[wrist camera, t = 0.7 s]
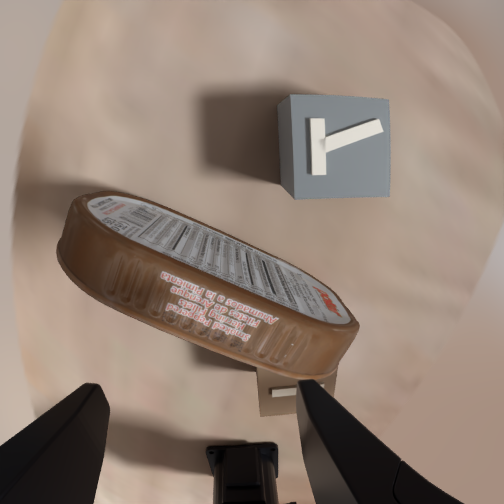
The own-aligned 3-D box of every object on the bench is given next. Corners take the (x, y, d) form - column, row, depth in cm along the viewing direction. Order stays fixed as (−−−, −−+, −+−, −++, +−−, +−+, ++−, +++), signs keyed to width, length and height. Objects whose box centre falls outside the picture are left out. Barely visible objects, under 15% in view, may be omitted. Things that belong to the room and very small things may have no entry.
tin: (97, 219, 18) (18, 275, 10) (113, 171, 17) (31, 200, 9) (314, 314, 21) (351, 406, 13) (339, 274, 20) (393, 355, 12)
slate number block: (356, 182, 18) (391, 197, 13) (280, 184, 18) (295, 200, 13) (354, 106, 16) (390, 99, 12) (277, 105, 16) (291, 93, 12)
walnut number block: (317, 365, 22) (332, 410, 18) (256, 371, 22) (260, 419, 18) (321, 313, 21) (340, 356, 16) (252, 319, 21) (257, 365, 16)
